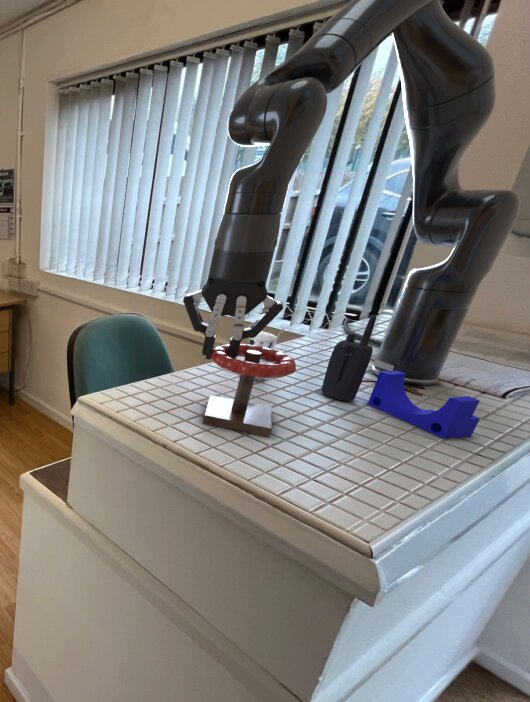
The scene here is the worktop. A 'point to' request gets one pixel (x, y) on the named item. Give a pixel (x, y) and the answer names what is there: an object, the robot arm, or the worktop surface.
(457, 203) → the robot arm
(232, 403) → the stand
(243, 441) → the worktop surface
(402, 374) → the cable clip
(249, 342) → the milkshake
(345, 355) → the two-way radio
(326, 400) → the worktop surface
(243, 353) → the ring
